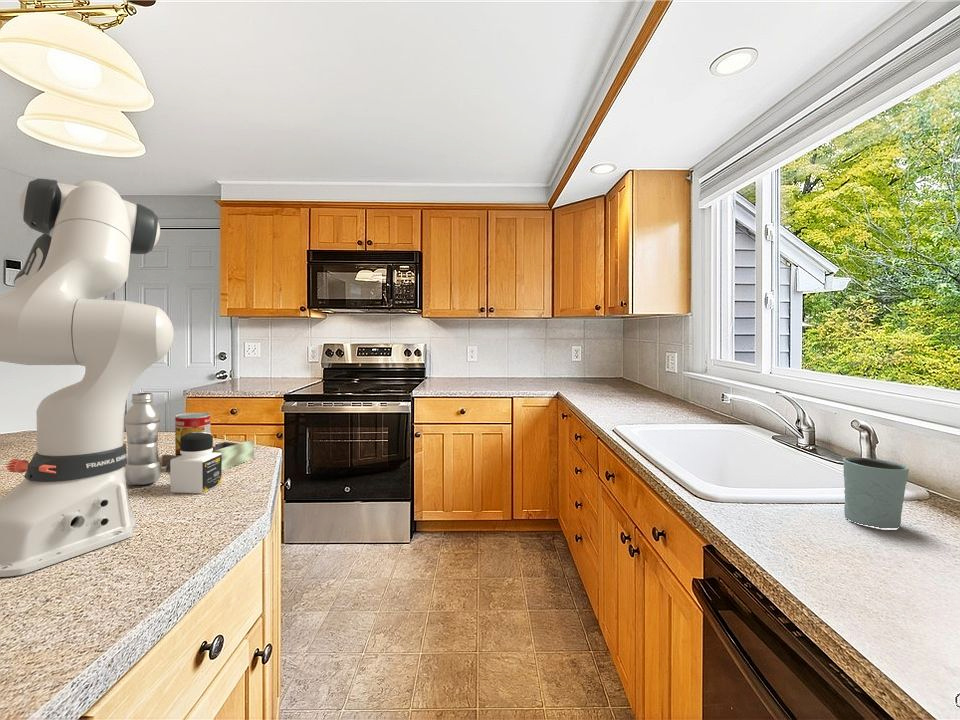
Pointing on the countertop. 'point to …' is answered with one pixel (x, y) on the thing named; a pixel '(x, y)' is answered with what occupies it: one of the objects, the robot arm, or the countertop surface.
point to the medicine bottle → (196, 465)
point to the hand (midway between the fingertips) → (128, 360)
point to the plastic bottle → (142, 441)
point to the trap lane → (225, 454)
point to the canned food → (190, 426)
